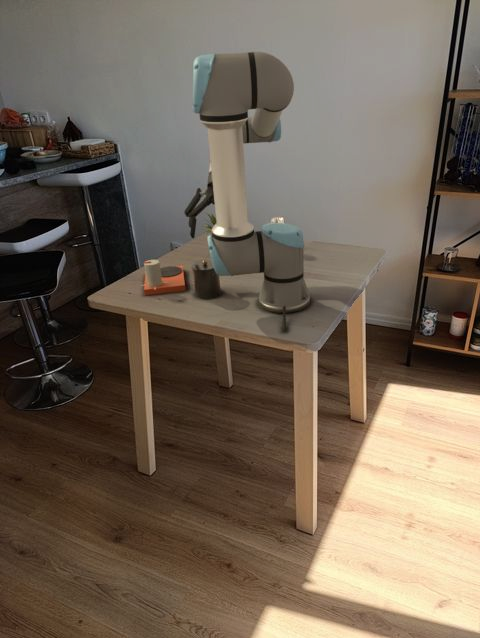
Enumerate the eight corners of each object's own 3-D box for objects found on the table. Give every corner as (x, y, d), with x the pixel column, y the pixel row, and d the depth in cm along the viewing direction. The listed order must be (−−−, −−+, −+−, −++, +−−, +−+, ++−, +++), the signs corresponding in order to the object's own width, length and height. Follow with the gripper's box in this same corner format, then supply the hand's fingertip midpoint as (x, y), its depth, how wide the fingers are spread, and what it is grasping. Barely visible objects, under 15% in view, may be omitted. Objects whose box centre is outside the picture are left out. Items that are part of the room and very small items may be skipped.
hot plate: (185, 291, 155) (184, 285, 154) (141, 297, 153) (140, 290, 152) (183, 270, 171) (182, 264, 170) (143, 275, 169) (142, 269, 168)
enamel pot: (222, 297, 150) (219, 263, 144) (196, 300, 149) (191, 266, 143) (219, 286, 157) (216, 254, 151) (194, 289, 156) (190, 257, 150)
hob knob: (162, 280, 159) (158, 258, 155) (162, 286, 155) (158, 263, 151) (147, 282, 158) (143, 259, 154) (147, 287, 154) (143, 264, 150)
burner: (182, 275, 162) (182, 274, 162) (155, 278, 161) (154, 277, 160) (181, 265, 170) (181, 265, 169) (155, 268, 168) (155, 268, 168)
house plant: (204, 245, 193) (199, 204, 185) (238, 244, 193) (235, 203, 184) (200, 258, 181) (195, 215, 173) (236, 256, 181) (233, 213, 172)
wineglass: (282, 246, 188) (281, 216, 182) (288, 250, 183) (287, 219, 177) (268, 249, 186) (267, 218, 180) (274, 253, 182) (273, 222, 175)
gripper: (258, 184, 160) (252, 244, 157) (185, 181, 163) (178, 240, 159) (256, 172, 153) (249, 234, 150) (180, 169, 156) (172, 230, 152)
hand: (212, 237), depth 154 cm, fingers open, 13 cm apart
